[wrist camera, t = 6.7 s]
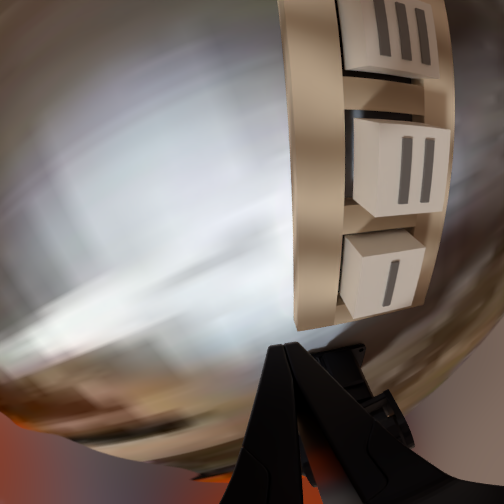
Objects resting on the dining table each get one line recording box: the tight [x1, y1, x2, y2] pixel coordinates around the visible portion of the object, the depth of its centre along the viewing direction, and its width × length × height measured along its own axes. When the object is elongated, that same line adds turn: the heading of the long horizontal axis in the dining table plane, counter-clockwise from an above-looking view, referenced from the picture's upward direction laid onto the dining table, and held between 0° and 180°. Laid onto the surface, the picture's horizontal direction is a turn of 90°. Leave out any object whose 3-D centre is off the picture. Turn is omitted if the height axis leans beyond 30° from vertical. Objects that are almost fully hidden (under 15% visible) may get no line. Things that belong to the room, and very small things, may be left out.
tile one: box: [339, 229, 426, 319], centre depth 19 cm, size 5×5×3 cm
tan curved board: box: [277, 0, 455, 331], centre depth 17 cm, size 26×12×2 cm, turn 5°
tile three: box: [337, 0, 440, 79], centre depth 12 cm, size 5×5×3 cm
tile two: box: [353, 118, 451, 217], centre depth 15 cm, size 5×5×3 cm
